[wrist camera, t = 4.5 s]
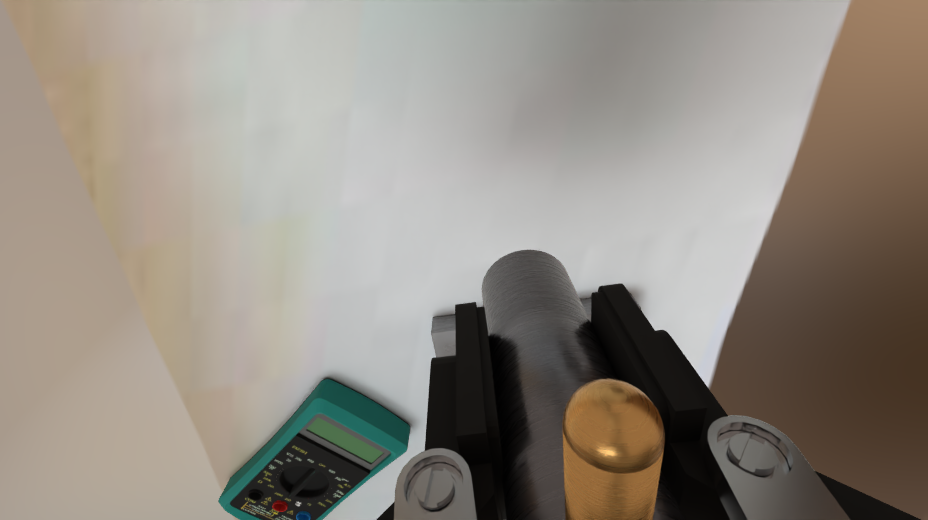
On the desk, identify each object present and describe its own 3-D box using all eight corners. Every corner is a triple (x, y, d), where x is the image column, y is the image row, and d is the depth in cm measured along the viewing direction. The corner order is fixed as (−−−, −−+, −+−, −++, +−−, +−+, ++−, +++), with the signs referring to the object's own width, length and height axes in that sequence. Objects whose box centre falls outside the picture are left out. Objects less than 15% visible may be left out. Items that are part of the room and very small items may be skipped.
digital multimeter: (227, 477, 32) (207, 515, 30) (329, 368, 27) (315, 402, 25) (308, 513, 34) (295, 551, 32) (415, 419, 29) (411, 454, 27)
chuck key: (466, 183, 11) (494, 524, 3) (567, 168, 11) (839, 490, 3) (494, 377, 15) (538, 761, 7) (570, 368, 15) (702, 749, 7)
